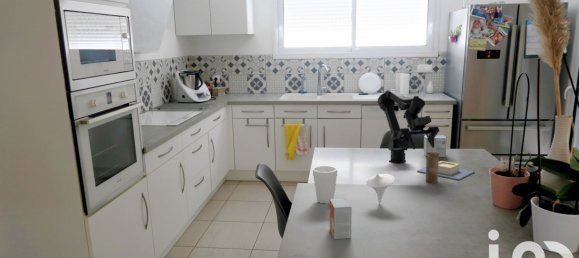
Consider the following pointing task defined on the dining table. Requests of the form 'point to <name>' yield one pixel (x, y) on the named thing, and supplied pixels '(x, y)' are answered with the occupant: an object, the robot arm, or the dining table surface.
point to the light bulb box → (436, 145)
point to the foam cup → (325, 182)
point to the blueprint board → (454, 176)
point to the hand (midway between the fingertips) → (424, 148)
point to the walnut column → (432, 167)
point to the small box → (340, 218)
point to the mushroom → (380, 183)
